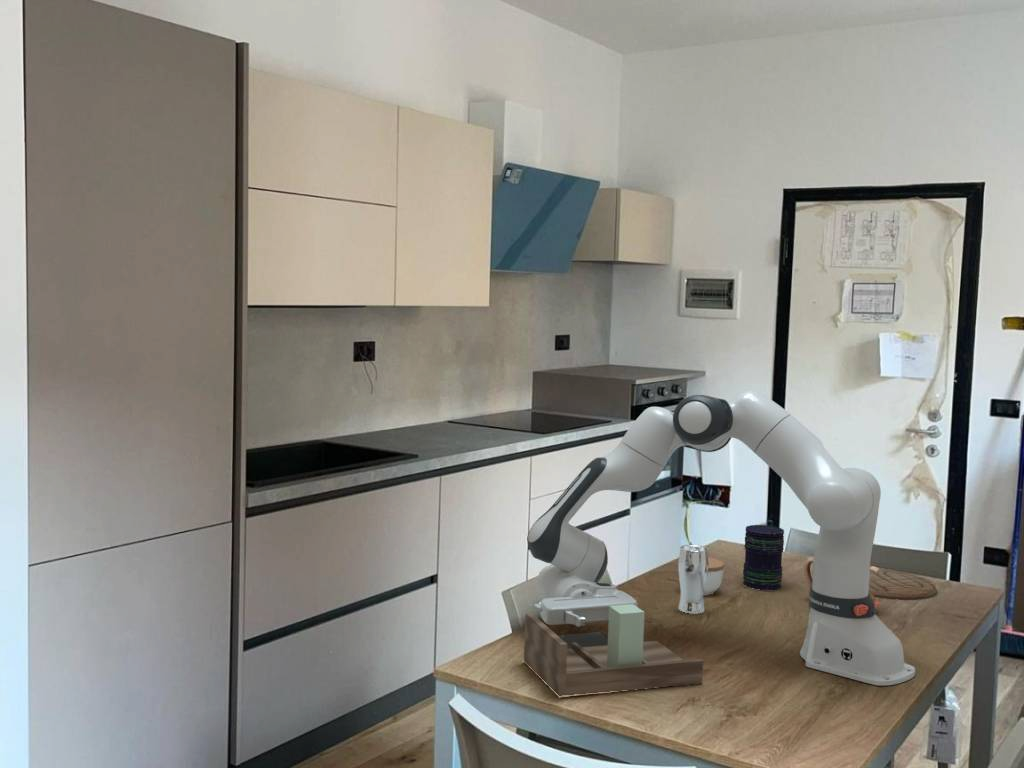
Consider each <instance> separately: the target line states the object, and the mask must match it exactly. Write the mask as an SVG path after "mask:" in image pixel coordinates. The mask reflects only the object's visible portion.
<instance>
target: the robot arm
mask: <svg viewBox="0 0 1024 768" xmlns="http://www.w3.org/2000/svg"><path fill="white" fill-rule="evenodd" d="M731 439H737V440H738V441H740V442H742V444H744V445H745V446H746V447H747V448H749V449H750V450H751V451H752V452H753V453H754V454H755V455H757V457H759V458H760V459H761V460H762V461H763V462H764V463H765V464H766V465H767V466H769V468H771V469H772V470H773V471H774V472H775V473H776V474H777V475H778V476H779V477H780V478H781V479H782V480H783V481H784V482H785V483H786V484H787V485H788V486H789V488H790V489H791V490H792V492H793V493H794V494H795V496H796V497H797V499H798V500H799V501H800V502H801V504H802V505H803V506H805V508H806V509H807V511H808V514H809V516H810V518H811V519H812V520H813V522H814V523H815V524H816V525H818V526H819V532H818V537H817V541H816V544H815V547H814V550H813V557H814V562H813V563H812V565H813V566H812V587H811V588H810V587H809V593H808V594H809V596H808V608H809V616H808V623H807V627H806V633H805V638H804V640H803V643H802V646H801V649H800V651H799V656H800V657H801V658H802V659H804V661H805V663H804V664H805V667H807V668H810V669H813V670H818V671H822V672H825V673H827V674H828V673H829V674H832V675H836V676H839V677H843V678H848V679H851V680H855V681H859V682H863V683H866V684H870V685H872V686H873V685H874V686H892V685H898V684H900V683H904V682H906V681H909V680H912V679H913V678H914V677H915V675H916V668H915V666H913V665H911V664H909V663H906V662H905V655H904V648H903V645H902V644H903V643H902V642H901V640H900V639H899V638H898V637H897V635H896V634H894V633H893V631H891V629H890V628H888V626H887V625H886V624H885V623H884V622H883V621H882V620H881V619H880V618H879V617H878V616H877V615H876V613H877V612H876V608H879V607H881V605H880V603H881V601H880V600H878V601H875V602H874V603H873V601H872V599H871V596H870V594H869V593H868V592H869V577H870V566H871V559H872V550H873V545H874V543H875V535H876V531H877V524H878V518H879V517H878V516H879V508H880V501H881V494H882V493H881V486H880V483H879V481H878V479H877V478H876V477H875V476H874V475H873V474H872V473H871V472H868V471H866V470H865V469H862V468H858V467H846V468H843V467H841V465H839V463H838V462H837V461H836V460H835V458H834V457H833V456H832V455H831V454H830V452H829V451H828V450H827V449H826V447H824V445H823V442H822V440H820V438H819V437H818V436H816V435H815V434H814V433H812V432H811V431H810V430H809V429H808V428H807V427H806V426H805V425H803V424H802V423H801V422H800V421H799V420H798V419H797V418H796V417H794V416H793V415H792V414H791V413H790V412H789V411H787V410H786V409H785V408H783V407H782V406H781V405H779V404H778V403H777V402H775V401H774V400H772V399H771V398H769V397H768V396H766V395H765V394H762V393H760V392H759V391H757V390H746V391H743V392H740V393H739V394H738V395H736V396H735V397H734V398H733V399H732V400H730V401H729V402H728V401H727V400H726V399H723V398H718V397H714V396H710V395H704V394H693V395H689V396H686V397H685V398H683V399H681V400H680V401H679V402H678V403H677V405H676V407H675V408H674V411H670V410H669V409H667V408H664V407H661V406H650V407H647V408H646V409H644V410H643V411H642V413H640V415H639V416H638V417H637V418H636V420H634V421H633V423H632V424H631V425H630V427H629V428H628V430H627V431H626V432H625V433H624V435H623V437H621V441H619V443H618V444H617V446H616V447H614V449H613V450H612V451H611V452H609V453H608V454H607V455H604V456H602V457H595V458H594V459H592V460H591V461H590V462H589V463H588V464H586V466H585V467H584V468H583V469H582V470H581V472H579V474H577V476H576V477H575V478H574V479H573V480H572V482H571V483H570V484H569V485H568V487H566V488H565V490H564V491H563V492H562V494H561V495H560V496H558V498H557V499H556V501H554V503H553V504H552V505H551V507H549V509H547V510H546V511H545V513H543V514H542V515H541V516H540V517H538V518H537V520H535V522H534V523H533V525H531V527H530V528H529V531H528V534H527V538H526V541H527V545H528V549H529V551H530V554H531V556H532V557H533V558H534V559H536V560H539V561H541V562H544V563H546V564H549V565H546V566H544V567H543V568H542V569H541V570H539V572H538V575H537V578H536V588H537V590H538V593H539V595H540V597H541V598H542V599H541V601H539V602H538V603H534V605H533V608H534V610H536V611H537V612H540V617H541V619H542V620H543V623H544V624H545V625H550V626H558V625H569V624H570V625H574V626H576V627H579V628H580V627H585V626H586V623H595V622H605V621H608V622H609V606H616V605H629V604H633V605H635V606H636V607H638V601H637V600H636V599H635V598H634V597H633V596H631V595H630V594H629V593H627V592H625V591H623V590H619V589H618V588H617V585H616V584H613V583H608V582H607V583H605V582H603V583H602V582H600V580H601V579H602V578H603V576H604V574H605V572H606V571H607V567H608V561H609V557H608V549H607V546H606V544H605V542H604V541H603V540H601V539H599V538H597V537H596V536H593V535H592V534H590V533H588V532H586V531H583V530H582V529H579V528H578V527H576V526H574V525H572V524H570V521H571V520H572V518H573V517H574V516H575V515H576V514H577V513H578V511H579V510H580V509H581V508H582V507H583V506H584V505H585V503H586V502H587V501H588V499H590V498H591V497H592V495H594V494H596V493H598V492H601V491H617V492H626V493H635V492H640V491H644V490H646V489H648V488H650V487H651V486H653V484H655V482H656V481H657V480H658V478H659V477H660V475H661V474H662V471H663V470H664V468H665V466H666V465H667V464H668V462H669V460H670V458H671V457H672V456H673V454H674V452H676V450H678V449H679V448H680V447H684V448H688V449H693V450H696V451H699V452H705V453H712V452H713V453H714V452H716V451H719V450H722V449H724V448H725V447H726V446H727V445H728V444H729V443H730V441H731Z"/></svg>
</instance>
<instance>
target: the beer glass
mask: <svg viewBox="0 0 1024 768" xmlns="http://www.w3.org/2000/svg"><path fill="white" fill-rule="evenodd" d="M708 558H709V548H708V547H706V546H704V545H699V544H683V545H681V546H680V547H679V555H678V562H677V563H678V564H677V565H678V567H677V568H678V570H677V571H678V579H679V588H680V596H679V597H680V598H679V603H678V608H677V609H679V610H680V611H679V610H678V611H679V612H681V611H682V612H681V613H683V612H685V613H684V614H687V613H689V614H688V615H700V613H701V614H703V613H705V603H704V596H705V595H704V589H705V585H706V580H707V575H708V564H709V560H708ZM698 613H699V614H698Z"/></svg>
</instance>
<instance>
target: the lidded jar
mask: <svg viewBox="0 0 1024 768" xmlns="http://www.w3.org/2000/svg"><path fill="white" fill-rule="evenodd" d="M708 560H709V564H708V575H707V580H706V585H705V589H704V595H703V596H709V595H708V594H712V593H713V594H714V592H716V591H717V590H718V589H719V587H720V586H721V584H722V581H723V577H724V568H725V562H723V561H722V560H720V559H716V558H712V557H708ZM713 594H712V595H713Z"/></svg>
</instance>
